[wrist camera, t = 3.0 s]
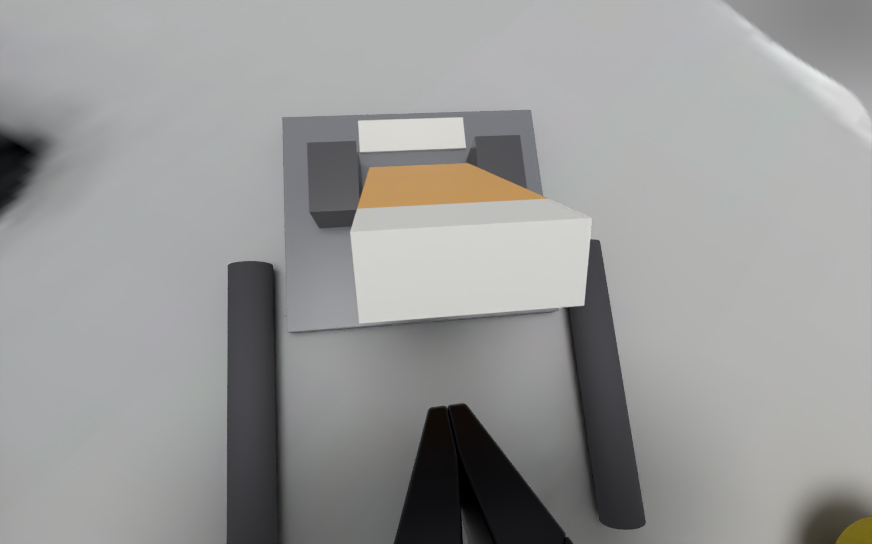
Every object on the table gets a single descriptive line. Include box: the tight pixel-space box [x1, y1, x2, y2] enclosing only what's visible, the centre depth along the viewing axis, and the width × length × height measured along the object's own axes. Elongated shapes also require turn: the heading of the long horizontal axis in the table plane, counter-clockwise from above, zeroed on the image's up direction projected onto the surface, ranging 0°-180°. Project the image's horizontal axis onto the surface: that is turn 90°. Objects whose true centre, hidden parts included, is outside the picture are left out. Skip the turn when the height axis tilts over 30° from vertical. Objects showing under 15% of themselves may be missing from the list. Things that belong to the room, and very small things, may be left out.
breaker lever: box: [350, 163, 592, 324], centre depth 13 cm, size 2×4×13 cm
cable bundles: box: [227, 240, 646, 544], centre depth 18 cm, size 12×17×2 cm
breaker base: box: [282, 110, 559, 333], centre depth 19 cm, size 10×12×3 cm
